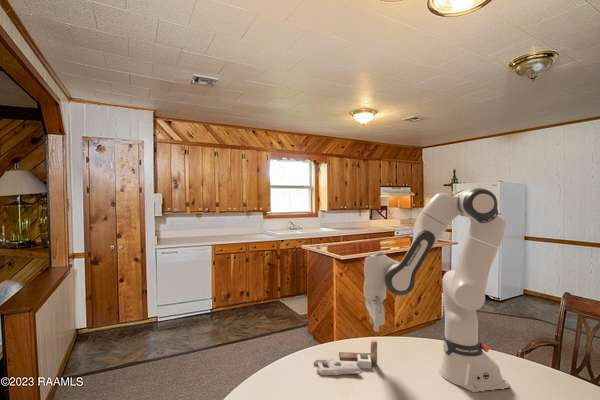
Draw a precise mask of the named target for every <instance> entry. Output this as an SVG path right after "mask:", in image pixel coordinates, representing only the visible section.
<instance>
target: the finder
mask: <svg viewBox="0 0 600 400" xmlns="http://www.w3.org/2000/svg"><path fill="white" fill-rule="evenodd" d="M356 362H359V363H360V366H359V368H360V369H371V370H372V365H371V358H370V355H363V354H357V360H356Z"/></svg>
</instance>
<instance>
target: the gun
mask: <svg viewBox="0 0 600 400" xmlns="http://www.w3.org/2000/svg"><path fill="white" fill-rule="evenodd" d="M313 365H314V366H317V368H316V372H317V374H319V375H320V376H341V375H360V374H363V370H362V368H359V366H360V363H359V362H357V361H344V360H343V361H342V360H341V359H339V360H338V359H336V358H334V357H318V358H317V359H316V360H314V361H313ZM324 366H327V367H324Z"/></svg>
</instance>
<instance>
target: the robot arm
mask: <svg viewBox="0 0 600 400" xmlns="http://www.w3.org/2000/svg"><path fill="white" fill-rule="evenodd" d="M498 210H499V209H498V199H497V197H496V195H495V194H494V193H493V192H492V191H490V190H488V189H486V188H482V187H481V188H480V187H479V188H468V189H467V188H466V189H462V190H460V191H458V192H456V193H454V194H450V193H447V192H438V193H436V194H435V195H434V196H433V197H432V198H431V199H430V200H429V201H428V202H427V203H426V205H425V206H424V207H423V209H422V210H421V212H420V213H419V215H418V216H417V219H416V220H415V223H414V225H413V230H412V231H413V234H412V235H413V237H412V242H411V245H410V246H409V248H408V250H407V252H406V253H405V255H404V256H403V258H402V260H401V261H399V260H395V259H393V258H391V257H388V256H387V255H386V254H385V253H384V252H373V253H369V254H367V256H366V257H365V258H364V265H363V276H364V282H363V298H364V301H365V307H366V309H367V311H368V314H369V322H370V324H371V325H373V330H374V332H375V333H379V332H380V326H384V325H385V323H386V320H385V319H386V318H385V317H386V316H385V315H386V314H385V305H384V304H383V302H384V300H386V299H387V290H388V291H389V293H391V294H392V295H395V296H401V297H402V296H406V295H408V294H410V293H411V292H412V291H413V289H414V287H415V280H416V276H417V273H418V271H419V270H420V268H421V266H422V264H423V262H425V259H426V257H427V256H428V254H429V253H430V251H431V250H432V249H433V247H434V246H435V244H436V243H437V242H438V241H439V240H440V238H442V236H443V235H444V234H445V232H446V231H447V229H448V228H449V226H450V225H451V224H452V221H453V220H455V218H456V217H458V216H462V217H466V218H469V221H470V222H469V223H470V225H469V230H468V231H467V234H466V236H465V238H464V239H463V242H462V245H461V247H460V250H459V252H458V255H457V262H456V267H455V269H450V270H448V271H446V272H445V273H444V274H443V276H442V281H441V282H442V297H443V298H442V299H443V307H444V308H443V309H444V334H443V342H442V347H443V356H442V362H441V365H440V367H439V373H440V375H441V376H442V377H443V378H444V379H446V380H447V382H450V383H452V384H454V385H456V386H459V387H462V388H464V389H466V390H468V391H470V392H472V393H479V391H481V392H486V391H485V390H492V391H495V390H494V389H502V388H503V390H505V389H504V388H508V387H509V388H510V384H509V381H507V379H506V378H505V377H504V376H503V374H502V373H501V369H500V366H499V365H498V364H497V363H496V361H495V360H494V359H493V358H491V357H490V356H489V355H488V354H487V353H488V352H489V351H490V348H489V346H487V345H486V344H485V343H484V344H483V343H482V342H481V341H480V340H479V319H478V316H477V311H476V310H479V309H480V308H482V307H483V306H484V304H485V302H486V289H487V285H488V279H489V275H490V271H491V268H492V264H493V263H494V259H495V258H496V255H497V254H498V251H499V248H500V246H501V244H502V242H503V241H502V240H503V238H504V234H505V229H506V221H505V219H503V218H502V217H501V216H499V211H498ZM505 382H506V383H505Z"/></svg>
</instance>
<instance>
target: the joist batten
mask: <svg viewBox="0 0 600 400" xmlns="http://www.w3.org/2000/svg"><path fill="white" fill-rule="evenodd" d="M357 354H363V355H370V358H371V352H369V353H368V352H347V351H346V352H345V351H342V352H341V351H340V352H338V357H339V360H341V361H342V360H343V361H344V360H348V361H349V360H350V361H357Z"/></svg>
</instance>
